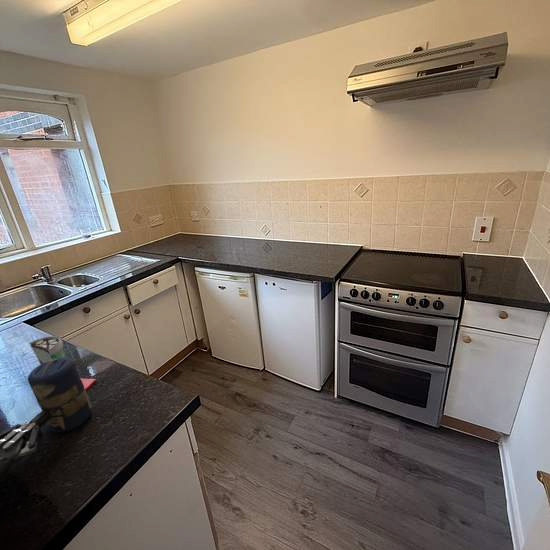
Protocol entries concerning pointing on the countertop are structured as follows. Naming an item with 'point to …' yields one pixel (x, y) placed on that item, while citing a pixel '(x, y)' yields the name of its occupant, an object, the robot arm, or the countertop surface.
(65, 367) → the canister
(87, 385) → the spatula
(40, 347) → the food container
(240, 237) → the countertop surface
